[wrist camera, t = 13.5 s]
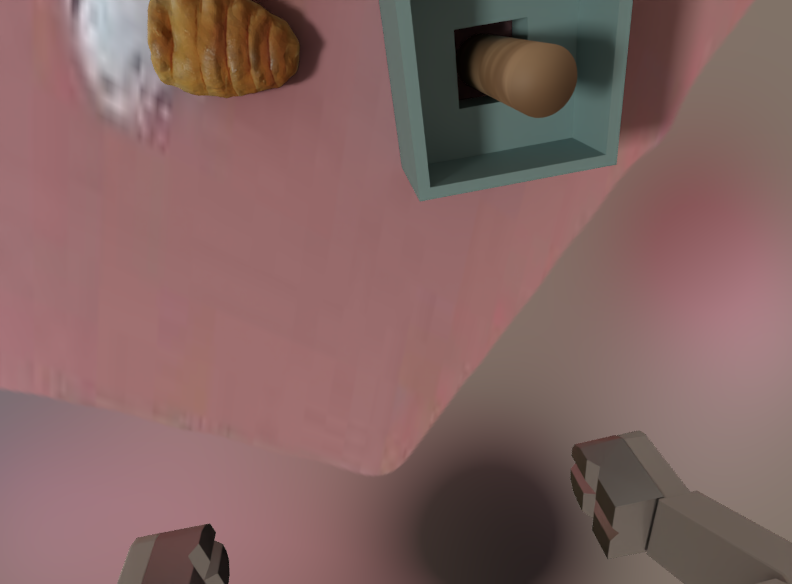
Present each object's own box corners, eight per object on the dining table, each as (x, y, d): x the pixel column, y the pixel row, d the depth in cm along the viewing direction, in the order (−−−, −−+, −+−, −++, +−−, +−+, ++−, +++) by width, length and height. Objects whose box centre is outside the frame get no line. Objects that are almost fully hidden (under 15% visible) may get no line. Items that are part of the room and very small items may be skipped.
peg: (453, 37, 34) (510, 50, 24) (502, 29, 35) (579, 37, 24) (457, 90, 36) (511, 123, 26) (503, 82, 36) (575, 111, 26)
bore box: (373, -35, 32) (389, -47, 25) (573, -68, 32) (641, -88, 25) (401, 167, 39) (419, 201, 32) (564, 137, 39) (616, 164, 32)
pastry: (302, 0, 32) (301, -1, 29) (297, 105, 35) (295, 115, 32) (152, -27, 30) (132, -31, 27) (161, 86, 34) (144, 95, 30)
